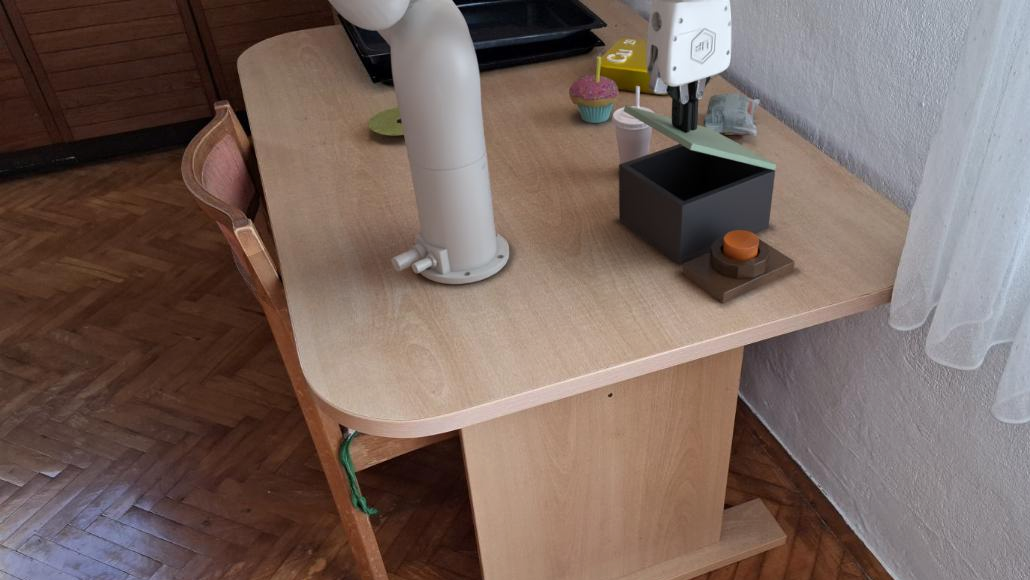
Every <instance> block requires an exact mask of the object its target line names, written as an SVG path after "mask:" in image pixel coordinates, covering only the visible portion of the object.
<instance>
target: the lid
mask: <svg viewBox="0 0 1030 580" xmlns="http://www.w3.org/2000/svg"><path fill="white" fill-rule="evenodd" d="M630 106H631V105H624V107H625V108H624V112H626V113H628V114H629V115H631V116H633V117H635V118H636V119H638V120H640V121H642V122H643V123H645V124H647V125H648V126H650V127H652V129H653V130H655V131H656V132H659V133H661V134H662V135H664V136H665V137H668V138H669V139H671V140H673V141H674V142H676V143H677V144H681V145H683V146H684V147H686V148H688V149H690V150H693V151H697V152H702V153H706V154H710V155H714V156H718V157H722V158H726V159H730V160H735V161H739V162H743V163H747V164H751V165H755V166H759V167H763V168H767V169H772V170H775V171H776V168H777V166H778V165H777V163H775V162H773V161H772V160H769V159H767V158H765V157H764V156H762V155H761V154H758V153H757V152H754V151H752V150H751V149H749V148H747V147H746V146H744V145H741V144H740V143H738V142H736V141H734V140H733V139H731V138H728V137H727V136H726V135H721V134H719V133H718V132H716V131H714V130H712V129H710V128H707V127H704V126H703V125H699V124H697V129H696V130H693V131H692V130H690V132H687V133H685V132H683V131H682V130H680V129H678V128H676V127H674V126H673V125H672V117H670V116H668V115H667V116H666V115H662V114H659V113H656V112H654V113H652V112H648V111H645V110H641V109H638V108H634V107H630Z"/></svg>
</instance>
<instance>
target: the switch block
mask: <svg viewBox="0 0 1030 580" xmlns="http://www.w3.org/2000/svg"><path fill="white" fill-rule="evenodd" d="M723 241H724V236H723V237H721V238H718V239H716V240H715V242H714V243H713V244H712V246H711V249H710V253H707V254H705V255H702V256H700V257H698V258H695V259H693V260H690V261H688V262H686V263H683V264H682V275H684V277H686V278H688V279H689V280H690V281H691V282H693V283H694V284H696V285H697V286H699V288H701V289H703V290H704V291H705V292H707V293H708V294H709V295H711V296H712V297H713V298H715V299H716V300H717V301H719V302H720V303H721V304H725V303H727V302H730V301H732V300H734V299H736V298H739V297H741V296H743V295H745V294H747V293H750V292H752V291H754V290H756V289H758V288H761V287H762V286H764V285H767V284H769V283H771V282H773V281H776V280H778V279H780V278H782V277H785V276H787V275H790V274H791V273H793V272H794V271H795V264H796V261H795V260H794V259H792V258H790V257H789V256H787V255H785V254H784V253H782V252H781V251H779V250H778V249H776V248H775V247H773V246H771V245H770V244H768V243H767V242H765V241H763V240H762V239H761V238H759V245H758V254H757V256H756V257H755V258H753V259H751V260H743V261H738V260H734V259H730V258H728V257H726V256H725V255H724V254H723Z"/></svg>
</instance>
